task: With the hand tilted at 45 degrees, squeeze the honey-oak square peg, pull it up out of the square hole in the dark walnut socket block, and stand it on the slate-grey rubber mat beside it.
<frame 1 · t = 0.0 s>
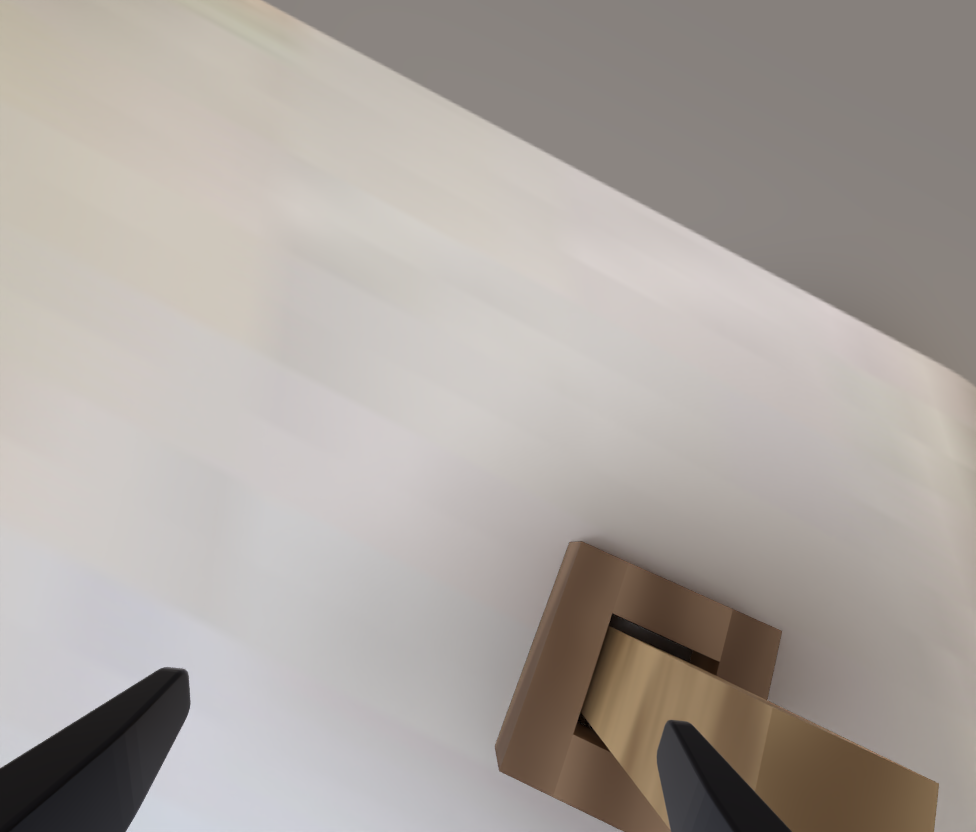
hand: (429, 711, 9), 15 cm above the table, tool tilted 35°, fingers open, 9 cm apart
walnut socket block: (628, 681, 22), on the table
oak peg: (693, 731, 16), in the walnut socket block
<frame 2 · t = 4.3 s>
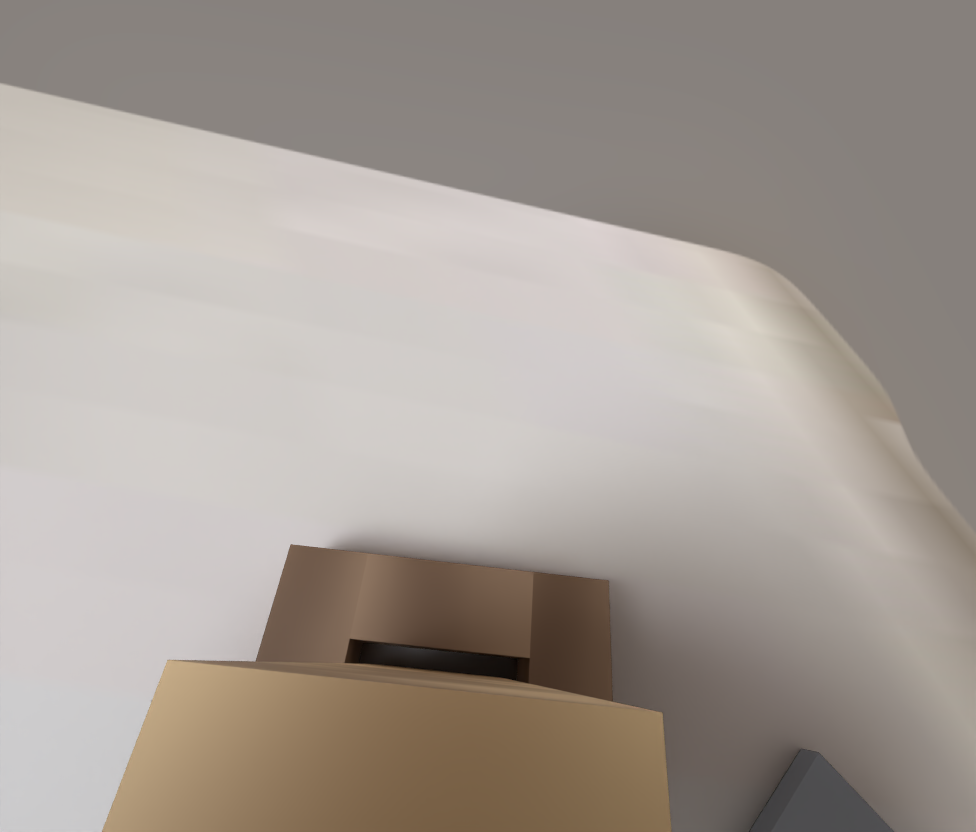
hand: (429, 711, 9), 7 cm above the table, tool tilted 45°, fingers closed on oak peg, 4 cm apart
walnut socket block: (428, 745, 14), on the table
oak peg: (418, 798, 8), in the walnut socket block, touching gripper
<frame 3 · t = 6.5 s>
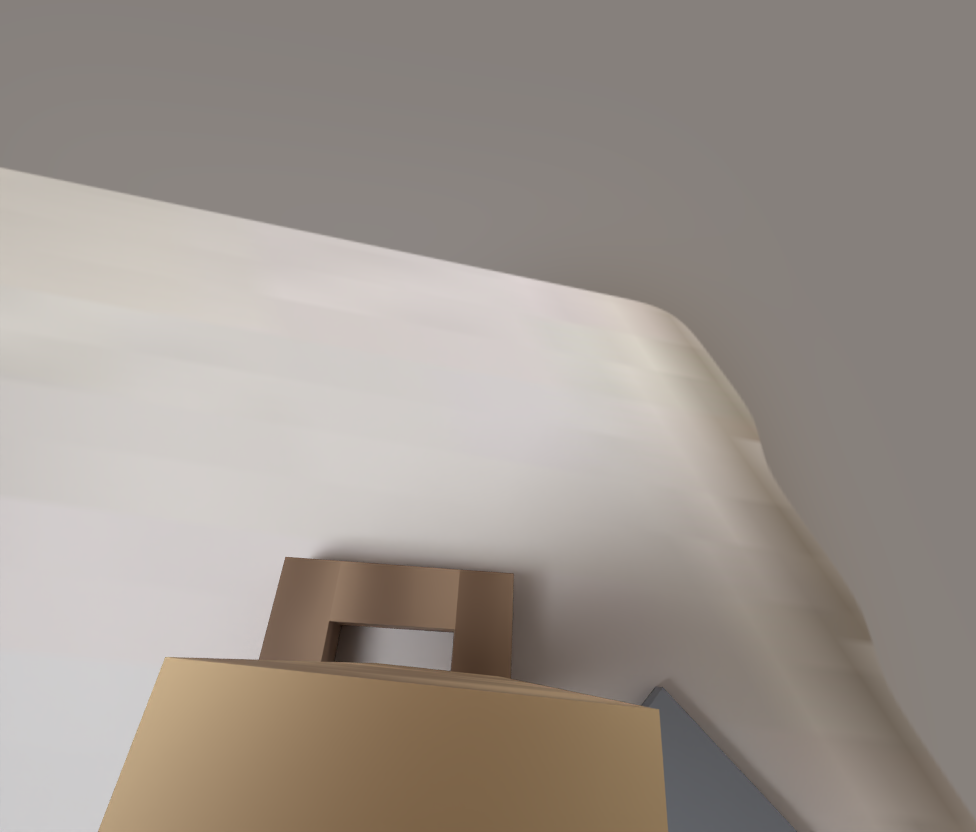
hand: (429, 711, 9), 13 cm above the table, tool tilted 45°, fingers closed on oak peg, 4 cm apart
walnut socket block: (389, 694, 20), on the table
oak peg: (417, 796, 8), point 13 cm above the table, touching gripper
when the fingers open (9 cm above the table, at t = 8.7 s): oak peg drops 1 cm, resting on slate mat.
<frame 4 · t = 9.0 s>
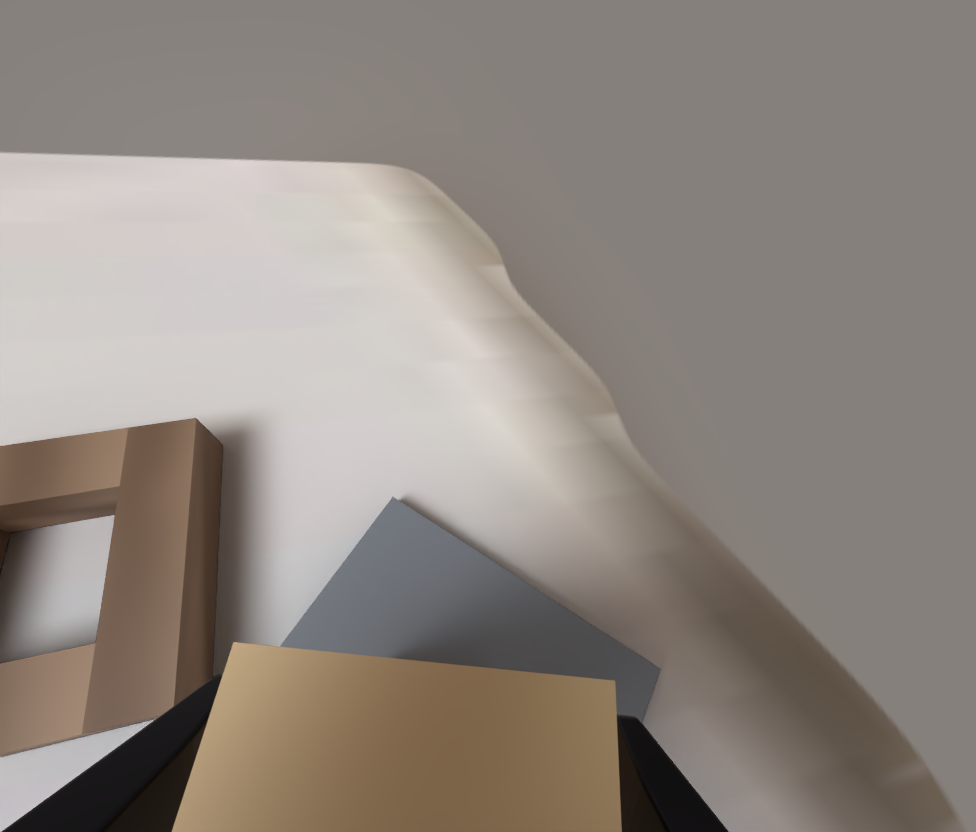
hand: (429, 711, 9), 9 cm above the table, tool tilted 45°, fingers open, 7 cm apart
walnut socket block: (73, 586, 17), on the table
oak peg: (420, 777, 9), on the slate mat, point 7 cm above the table
slate mat: (430, 735, 16), on the table
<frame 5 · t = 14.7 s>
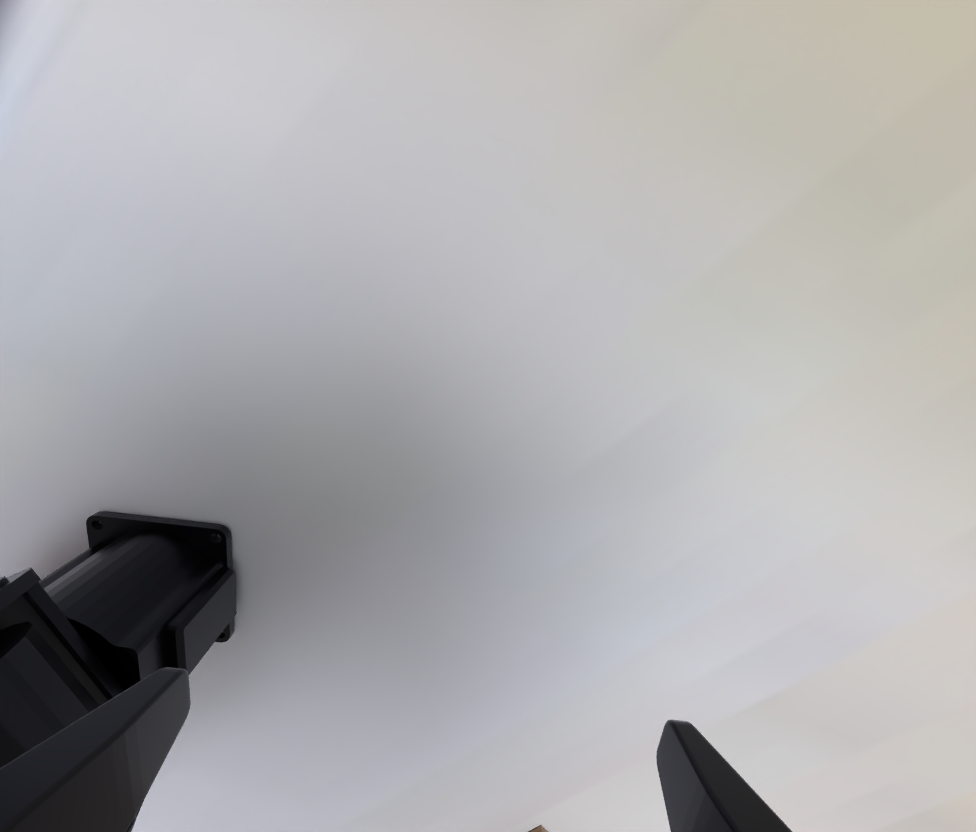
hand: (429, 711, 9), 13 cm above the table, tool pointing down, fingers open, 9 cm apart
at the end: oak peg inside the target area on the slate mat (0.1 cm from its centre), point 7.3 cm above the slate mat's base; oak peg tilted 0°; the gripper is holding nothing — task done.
